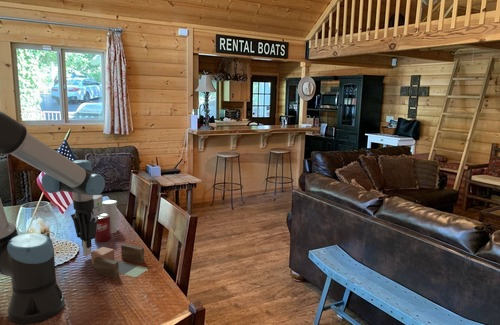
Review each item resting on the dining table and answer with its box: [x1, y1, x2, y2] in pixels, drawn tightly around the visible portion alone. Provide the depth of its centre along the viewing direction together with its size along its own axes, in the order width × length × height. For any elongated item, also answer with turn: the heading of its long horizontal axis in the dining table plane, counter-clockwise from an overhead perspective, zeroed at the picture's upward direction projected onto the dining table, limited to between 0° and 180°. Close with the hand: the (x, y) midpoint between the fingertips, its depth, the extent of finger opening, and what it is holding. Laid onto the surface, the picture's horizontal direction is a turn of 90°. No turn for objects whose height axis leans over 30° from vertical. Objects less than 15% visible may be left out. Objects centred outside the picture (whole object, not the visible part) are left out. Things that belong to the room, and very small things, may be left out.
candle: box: [102, 199, 119, 234], centre depth 180 cm, size 7×7×15 cm
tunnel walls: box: [93, 243, 145, 280], centre depth 142 cm, size 16×10×6 cm, turn 156°
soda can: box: [94, 214, 113, 244], centre depth 167 cm, size 7×7×12 cm
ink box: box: [93, 194, 104, 216], centre depth 201 cm, size 9×8×12 cm
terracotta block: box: [90, 246, 116, 265], centre depth 146 cm, size 6×6×5 cm
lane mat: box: [87, 259, 148, 278], centre depth 143 cm, size 8×24×1 cm, turn 66°
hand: (87, 254), depth 149 cm, fingers closed
